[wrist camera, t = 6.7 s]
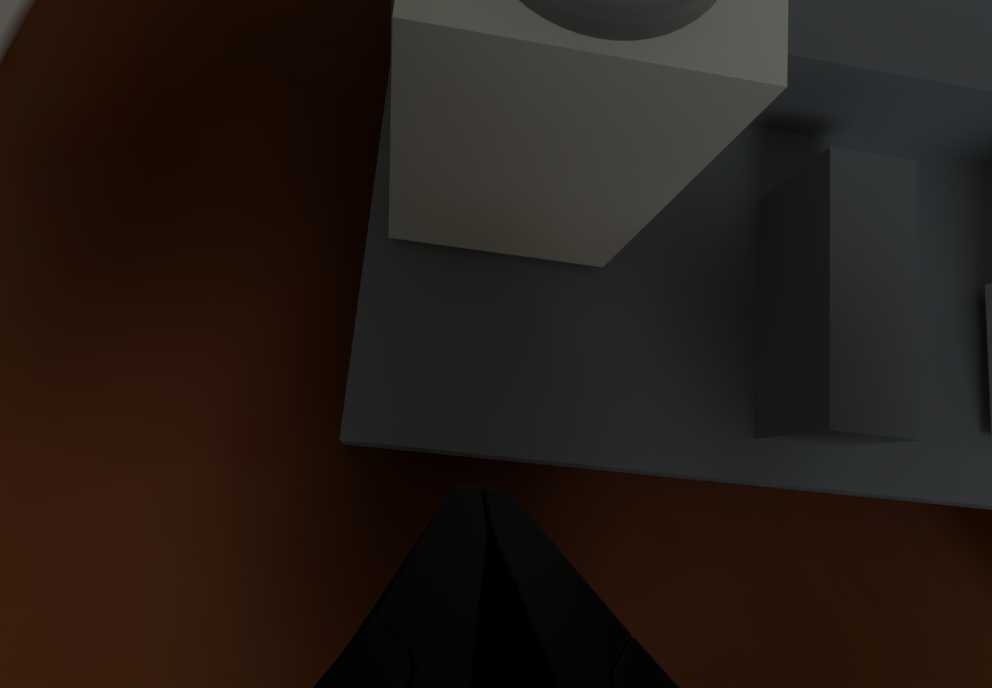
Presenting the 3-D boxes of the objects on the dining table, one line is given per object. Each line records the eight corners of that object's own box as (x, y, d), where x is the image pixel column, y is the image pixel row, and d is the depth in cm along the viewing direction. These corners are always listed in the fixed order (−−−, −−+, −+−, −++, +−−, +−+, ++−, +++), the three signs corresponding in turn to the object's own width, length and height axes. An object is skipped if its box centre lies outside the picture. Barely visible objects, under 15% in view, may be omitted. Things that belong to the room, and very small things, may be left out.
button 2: (602, 267, 17) (834, 40, 8) (388, 237, 16) (393, -42, 8) (613, 111, 18) (834, -247, 9) (409, 77, 17) (435, -343, 8)
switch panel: (1103, 520, 20) (1347, 534, 15) (344, 444, 18) (327, 429, 12) (1075, 127, 23) (1277, 24, 18) (403, 7, 20) (409, -158, 15)
